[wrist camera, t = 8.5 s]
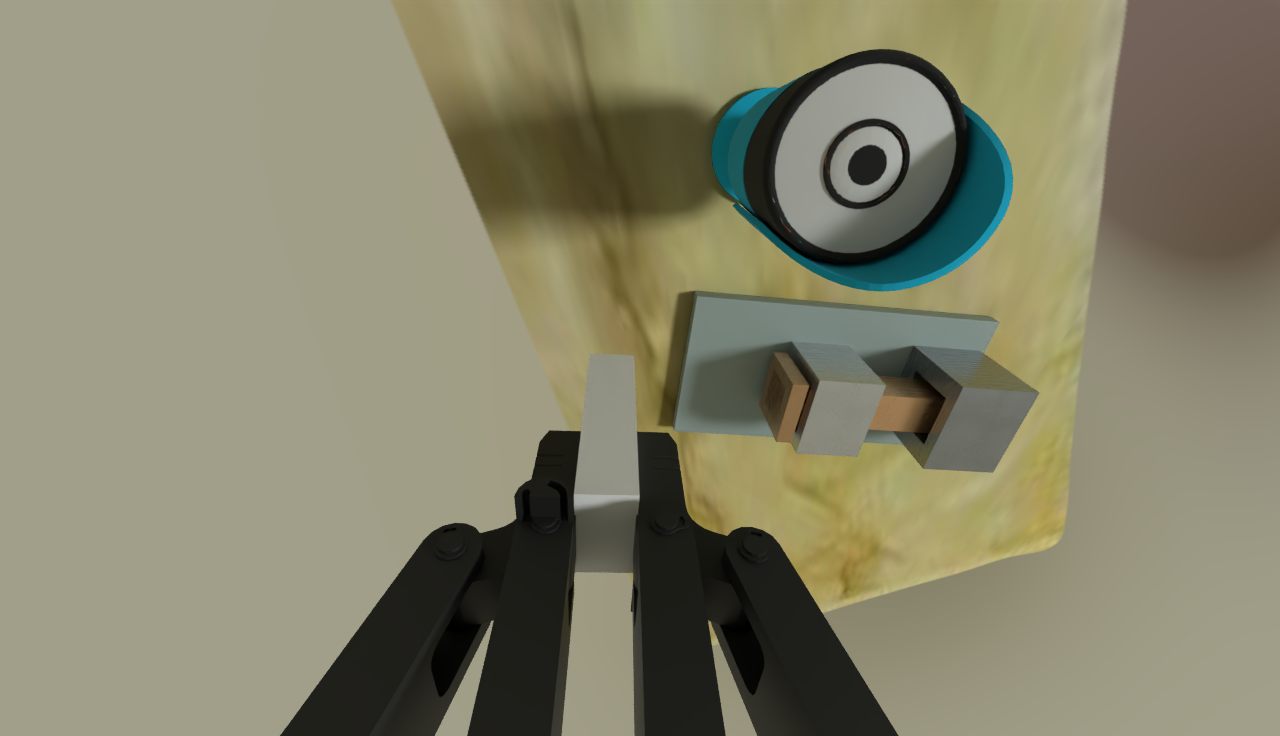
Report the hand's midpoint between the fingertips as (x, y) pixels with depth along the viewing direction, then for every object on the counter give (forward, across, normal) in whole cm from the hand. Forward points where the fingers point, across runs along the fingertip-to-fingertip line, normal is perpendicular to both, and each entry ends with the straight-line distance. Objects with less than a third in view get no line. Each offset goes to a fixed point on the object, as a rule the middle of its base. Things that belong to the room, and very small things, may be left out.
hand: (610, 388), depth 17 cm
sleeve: (+21, +17, -12) cm, 30 cm away
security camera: (+23, +10, +6) cm, 26 cm away
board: (+22, +19, -12) cm, 32 cm away
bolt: (+20, +21, -12) cm, 31 cm away
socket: (+21, +28, -13) cm, 37 cm away
